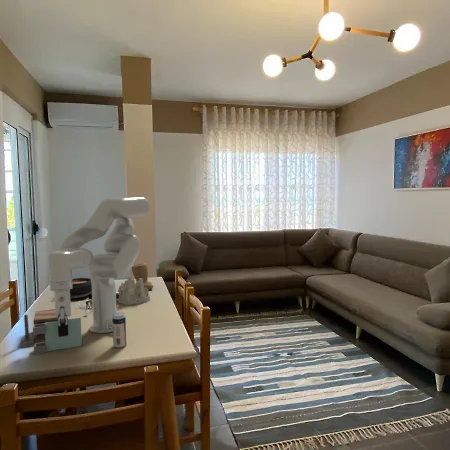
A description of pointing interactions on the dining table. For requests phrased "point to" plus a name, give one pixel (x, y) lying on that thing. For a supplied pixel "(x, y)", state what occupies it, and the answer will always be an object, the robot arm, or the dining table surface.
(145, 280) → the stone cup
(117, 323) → the beer can
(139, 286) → the grey castle model
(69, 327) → the door
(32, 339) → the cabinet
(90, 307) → the game piece set
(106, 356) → the dining table surface
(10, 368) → the dining table surface
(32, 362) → the dining table surface
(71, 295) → the casserole
